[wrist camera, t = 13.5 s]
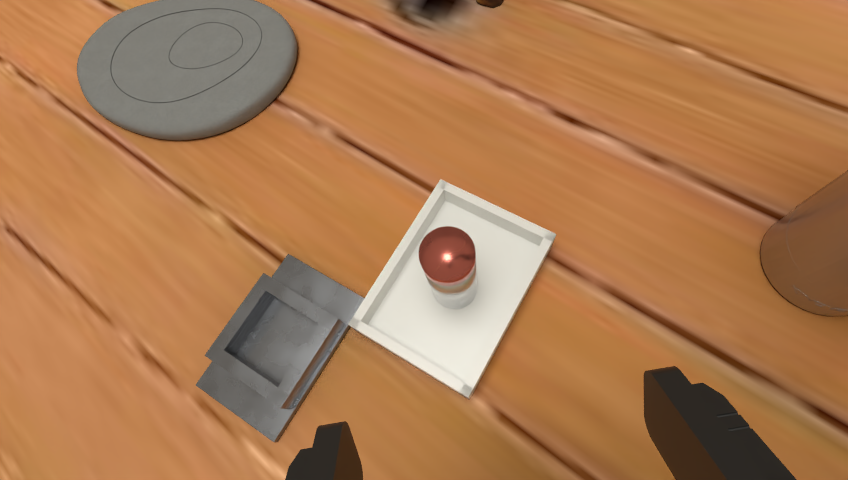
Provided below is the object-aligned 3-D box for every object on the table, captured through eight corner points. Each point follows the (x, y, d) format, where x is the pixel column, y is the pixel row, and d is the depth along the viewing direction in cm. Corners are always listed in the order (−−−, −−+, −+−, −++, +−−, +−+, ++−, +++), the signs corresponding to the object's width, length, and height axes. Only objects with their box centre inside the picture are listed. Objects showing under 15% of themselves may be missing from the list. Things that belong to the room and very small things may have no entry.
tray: (442, 193, 47) (440, 179, 45) (551, 246, 44) (556, 234, 42) (356, 331, 43) (347, 324, 41) (469, 399, 40) (468, 397, 37)
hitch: (291, 256, 47) (279, 245, 44) (366, 300, 44) (359, 292, 42) (200, 385, 43) (181, 382, 40) (277, 441, 41) (262, 442, 38)
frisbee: (114, 10, 63) (99, -7, 61) (312, 3, 59) (305, -14, 57) (60, 143, 56) (41, 130, 53) (282, 144, 52) (272, 131, 50)
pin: (447, 258, 44) (437, 216, 35) (485, 279, 43) (486, 243, 34) (424, 294, 43) (407, 262, 34) (462, 317, 42) (456, 291, 33)
